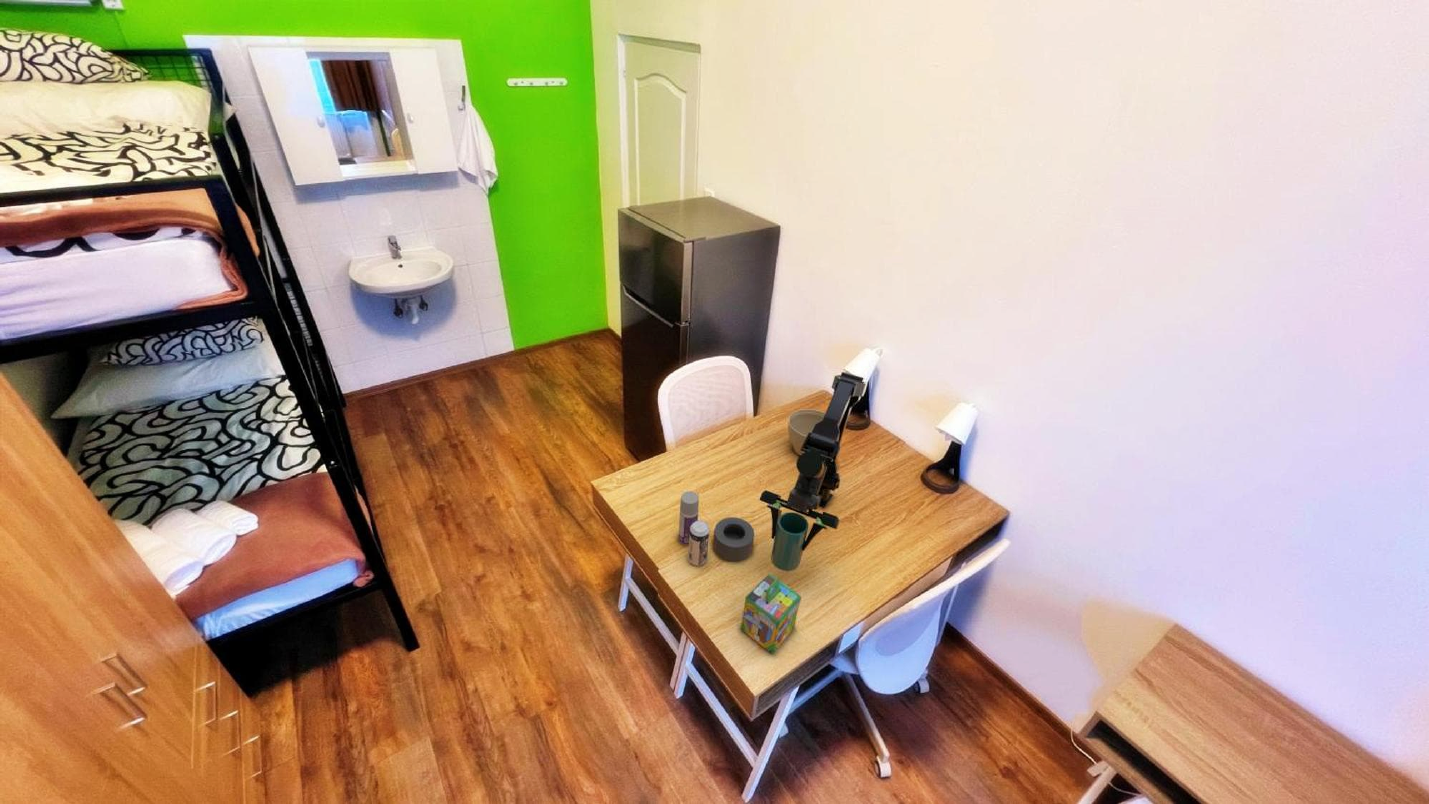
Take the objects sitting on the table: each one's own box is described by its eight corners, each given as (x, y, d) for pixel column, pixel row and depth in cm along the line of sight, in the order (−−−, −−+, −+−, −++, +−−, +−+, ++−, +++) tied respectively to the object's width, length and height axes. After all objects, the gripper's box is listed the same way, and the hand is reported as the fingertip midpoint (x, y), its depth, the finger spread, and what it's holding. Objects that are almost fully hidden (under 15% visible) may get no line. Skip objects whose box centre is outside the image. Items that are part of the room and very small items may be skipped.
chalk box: (772, 655, 121) (781, 613, 112) (739, 629, 125) (745, 587, 117) (795, 627, 127) (806, 586, 118) (763, 603, 131) (771, 562, 123)
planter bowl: (836, 467, 175) (843, 440, 169) (786, 464, 175) (791, 436, 169) (828, 436, 189) (834, 410, 183) (781, 433, 188) (786, 407, 182)
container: (698, 535, 148) (702, 493, 139) (692, 548, 144) (695, 506, 136) (682, 530, 149) (684, 488, 140) (675, 542, 145) (677, 500, 137)
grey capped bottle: (704, 568, 139) (707, 535, 132) (686, 564, 139) (688, 531, 133) (708, 554, 143) (711, 521, 136) (690, 550, 143) (692, 517, 137)
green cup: (787, 544, 138) (795, 508, 131) (805, 564, 134) (814, 527, 127) (765, 555, 135) (771, 518, 128) (783, 575, 130) (791, 539, 123)
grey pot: (726, 526, 151) (727, 511, 148) (758, 543, 147) (761, 528, 144) (705, 549, 144) (706, 534, 141) (739, 568, 140) (741, 553, 137)
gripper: (767, 464, 127) (743, 529, 125) (846, 492, 121) (823, 561, 119) (774, 470, 138) (753, 530, 135) (848, 496, 132) (826, 559, 130)
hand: (787, 544), depth 130 cm, fingers closed on green cup, 7 cm apart
